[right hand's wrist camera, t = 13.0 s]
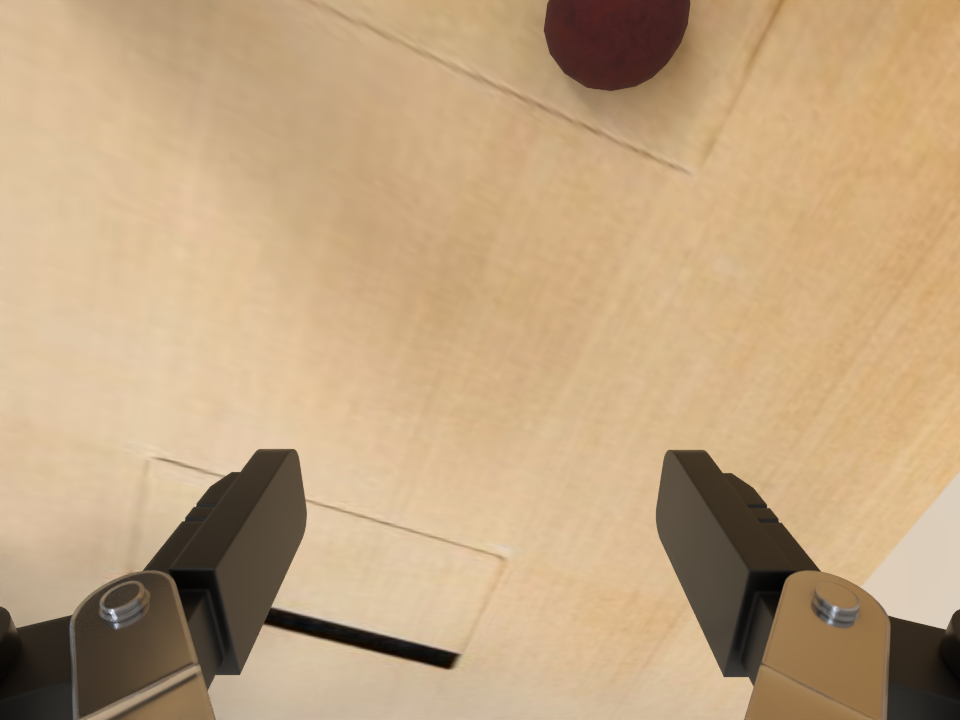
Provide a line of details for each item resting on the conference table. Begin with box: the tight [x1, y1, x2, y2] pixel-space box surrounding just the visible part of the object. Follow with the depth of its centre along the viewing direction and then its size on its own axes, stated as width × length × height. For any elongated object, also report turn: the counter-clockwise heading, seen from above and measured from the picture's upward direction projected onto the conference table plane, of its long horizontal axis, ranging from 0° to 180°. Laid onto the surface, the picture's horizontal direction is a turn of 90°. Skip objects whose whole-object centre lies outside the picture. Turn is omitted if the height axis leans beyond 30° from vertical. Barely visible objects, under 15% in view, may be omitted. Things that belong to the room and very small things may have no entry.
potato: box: [544, 0, 690, 91], centre depth 29 cm, size 7×8×7 cm
